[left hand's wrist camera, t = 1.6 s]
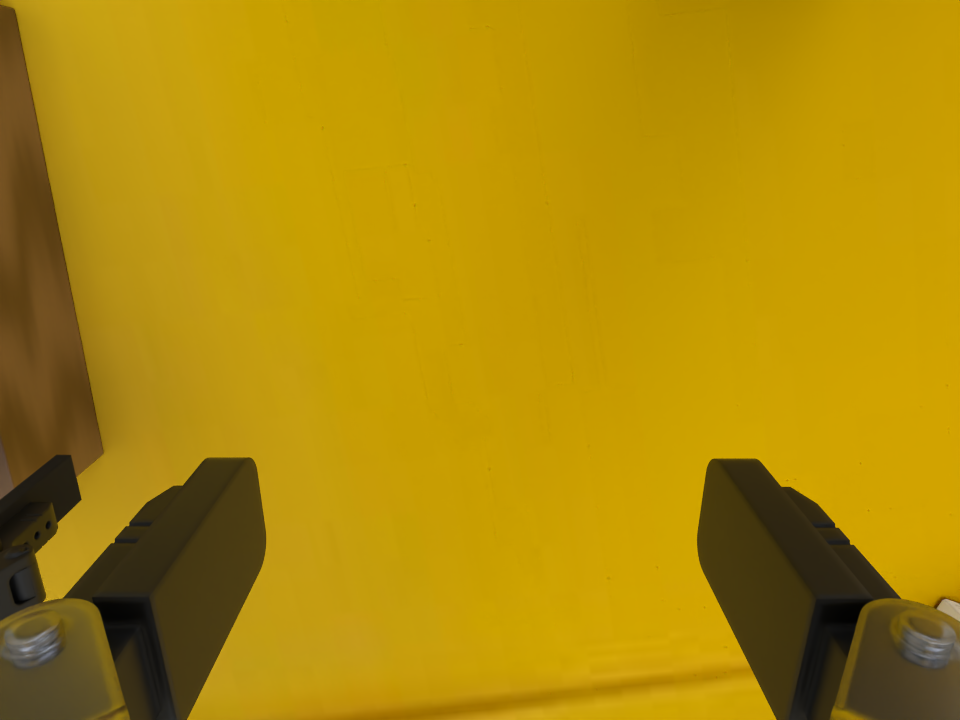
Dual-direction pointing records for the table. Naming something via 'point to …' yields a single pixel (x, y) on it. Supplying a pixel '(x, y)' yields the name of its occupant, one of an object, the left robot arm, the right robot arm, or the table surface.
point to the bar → (34, 298)
